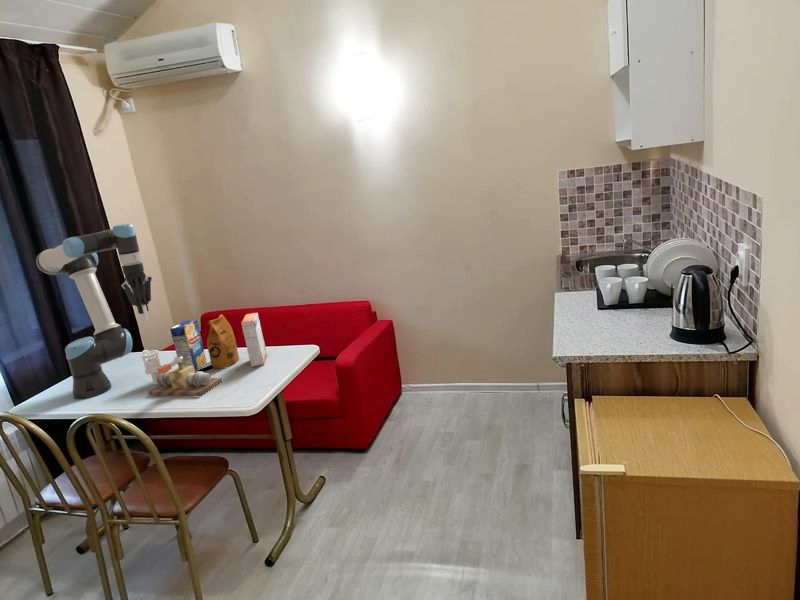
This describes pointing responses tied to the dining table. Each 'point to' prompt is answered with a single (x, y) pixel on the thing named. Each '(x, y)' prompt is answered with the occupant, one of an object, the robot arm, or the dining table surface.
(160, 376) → the valve stand
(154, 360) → the white upright piece
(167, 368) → the valve lever
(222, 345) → the coffee package
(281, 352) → the dining table surface
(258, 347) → the cracker box
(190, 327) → the beverage box
